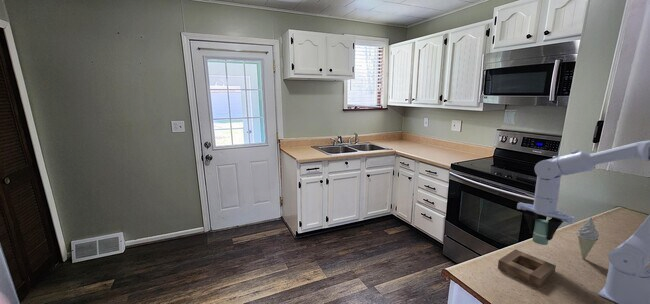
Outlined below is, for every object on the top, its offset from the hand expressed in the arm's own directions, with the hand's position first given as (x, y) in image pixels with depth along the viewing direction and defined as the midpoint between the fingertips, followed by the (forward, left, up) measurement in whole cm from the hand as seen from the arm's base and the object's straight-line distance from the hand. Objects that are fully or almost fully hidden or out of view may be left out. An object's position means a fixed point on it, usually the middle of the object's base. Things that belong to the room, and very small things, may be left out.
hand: (540, 236), depth 87 cm
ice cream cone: (-8, -14, -9) cm, 18 cm away
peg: (0, 0, -2) cm, 2 cm away
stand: (0, +9, -9) cm, 13 cm away
